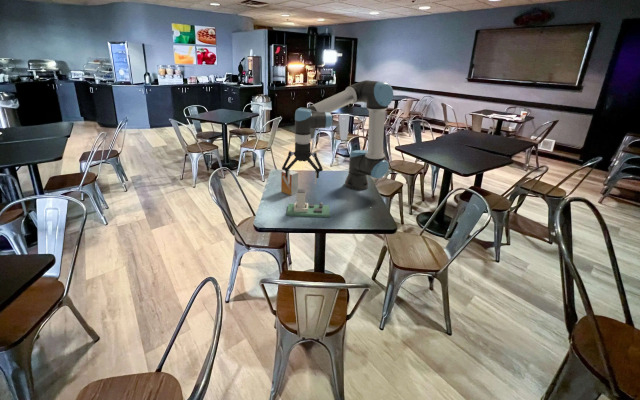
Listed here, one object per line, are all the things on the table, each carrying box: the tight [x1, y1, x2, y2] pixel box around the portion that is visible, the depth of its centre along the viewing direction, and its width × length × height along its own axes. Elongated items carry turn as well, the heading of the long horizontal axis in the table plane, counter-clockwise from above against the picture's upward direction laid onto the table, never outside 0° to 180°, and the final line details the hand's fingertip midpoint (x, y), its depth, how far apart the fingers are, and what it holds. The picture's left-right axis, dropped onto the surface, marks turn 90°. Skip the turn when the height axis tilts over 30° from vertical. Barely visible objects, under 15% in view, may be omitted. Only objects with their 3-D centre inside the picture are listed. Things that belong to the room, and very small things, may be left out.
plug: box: [296, 188, 306, 208], centre depth 167 cm, size 4×4×10 cm
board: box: [286, 201, 331, 218], centre depth 168 cm, size 22×12×4 cm, turn 91°
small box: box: [280, 169, 299, 196], centre depth 189 cm, size 8×6×13 cm
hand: (302, 183), depth 163 cm, fingers open, 13 cm apart
